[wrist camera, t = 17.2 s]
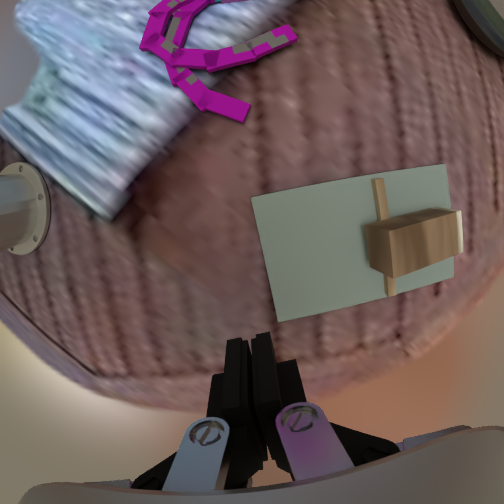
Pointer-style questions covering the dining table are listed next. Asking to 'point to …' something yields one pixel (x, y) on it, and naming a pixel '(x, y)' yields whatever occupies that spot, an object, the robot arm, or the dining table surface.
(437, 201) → the mat
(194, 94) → the toy
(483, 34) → the vase
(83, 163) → the dining table surface
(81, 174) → the dining table surface
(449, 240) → the walnut block
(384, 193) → the strip
